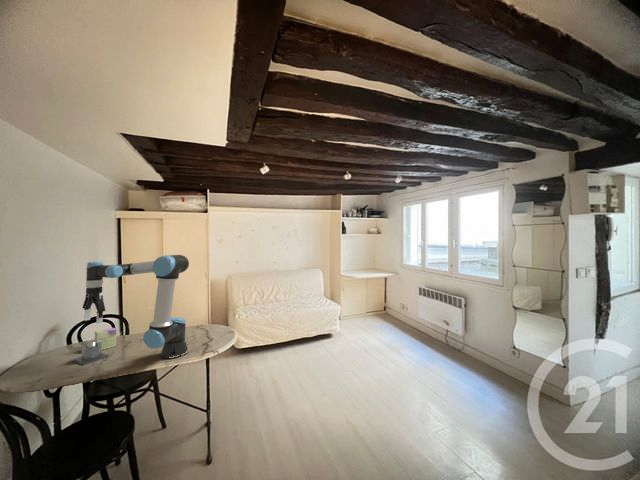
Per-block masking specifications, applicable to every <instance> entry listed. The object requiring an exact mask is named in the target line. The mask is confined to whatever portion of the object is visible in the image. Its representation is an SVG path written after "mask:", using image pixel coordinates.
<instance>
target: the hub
mask: <svg viewBox="0 0 640 480" xmlns="http://www.w3.org/2000/svg"><path fill="white" fill-rule="evenodd" d="M101 353H102V350H101V343H96V346H94V347H87V344H85V345H83V346H82V347H81V357H82V360H91V359H95V358H98V357H99V356H100V355H101Z"/></svg>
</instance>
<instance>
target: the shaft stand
mask: <svg viewBox="0 0 640 480" xmlns="http://www.w3.org/2000/svg"><path fill="white" fill-rule="evenodd" d="M86 343H87V344H86V345H87V347H94V346H96V341H95V340H90V341H88V342H86ZM108 357H109V354H106V353H103V352H101V355H100V356H99V357H98V358H95V359H91V360H82V356H78V357H76V358H73V359H72V361H73V362H75V363H77V364H79V365H82V366H86V365H90V364H92V363H94V362H98V361H101V360H103V359H107V358H108Z"/></svg>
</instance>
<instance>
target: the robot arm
mask: <svg viewBox="0 0 640 480" xmlns="http://www.w3.org/2000/svg"><path fill="white" fill-rule="evenodd" d="M189 267H190V261H189V259H188V258H187V256H185V255H182V254H169V255H168V254H165V255H161V256H159V257H157V258H156V259H155V260H151V261H143V262H142V261H141V262H140V261H139V262H133V263H123V264H111V265H108V264H107V265H106V264H104V262H103V261H88V262H87V264H86V279H85V287H86V288H85V297H84V301H83V304H82V309H83V310H84V314H83V321H84V322H85V321H90V320H91V316H92V315H91V312H92V310H91V309H92V308H91V307H92V305H93V304H94V305H95V308H96V322H95V324H96V325H98V324H102V323H103V320H104V319H103V317H104V312H106V306H105V303H104V296H103V295H100V294H102V293H103V282H104V280H103V279H104V278H105V279H106V278H109V279H115V278H120V277H124V276H133V275H134V276H135V275H140V274H141V275H142V274H155V278H156V279H157V281H158V282H157V290H156V295H155V296H156V297H155V303H154V304H155V305H154V312H153V320H152V321H151V322H149V325H148V326H149V327H148V330H146V331H145V332H144V334H143V337H142V339H143V343H144V345H146V347H148V348H149V349H153V350H156V349H159V348H161V351H160V358H161V357H162V358H161V359H164V358H169V357H173V356H177V355H181V354H183V353H185V352H186V351H187V350H188V345H187V342H186V324H187V323H186V318H184V317H179V316H178V317H177V316H176V317H175V316H174V317H171V316H172V309H173V301H174V293H175V284H176V281H177V280H178V279H179V278H180V277H179V276H180V274H182V273H185V272H186V271H187V269H188V268H189ZM188 351H189V350H188Z"/></svg>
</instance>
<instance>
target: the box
mask: <svg viewBox="0 0 640 480" xmlns="http://www.w3.org/2000/svg"><path fill="white" fill-rule="evenodd" d="M117 330H118V329H117V328H115V327H111V328H106V329H101V330H97V331H96V330H95V331H94V341H96V343H101V351H102V350H106V349H110V348H114V347H117V332H118V331H117Z"/></svg>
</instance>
